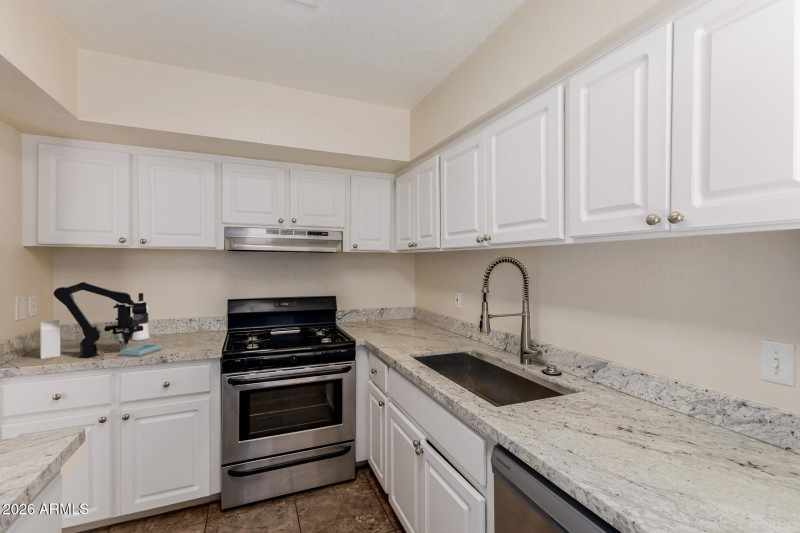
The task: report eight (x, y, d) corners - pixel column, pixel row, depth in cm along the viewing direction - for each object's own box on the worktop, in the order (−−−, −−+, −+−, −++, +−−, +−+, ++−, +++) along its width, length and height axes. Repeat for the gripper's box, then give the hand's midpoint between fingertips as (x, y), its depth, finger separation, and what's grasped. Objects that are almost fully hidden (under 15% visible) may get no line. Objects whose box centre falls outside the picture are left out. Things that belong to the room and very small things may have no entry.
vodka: (153, 338, 233) (153, 292, 233) (138, 341, 224) (139, 293, 224) (142, 337, 236) (142, 292, 235) (128, 340, 227) (128, 293, 227)
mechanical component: (134, 349, 202) (134, 331, 202) (118, 353, 192) (118, 335, 192) (129, 348, 202) (129, 331, 202) (113, 353, 192) (113, 334, 192)
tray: (120, 356, 189) (120, 350, 189) (143, 349, 204) (143, 344, 204) (139, 357, 188) (139, 351, 188) (161, 350, 203) (161, 344, 203)
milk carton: (60, 356, 188) (60, 320, 188) (41, 359, 182) (41, 322, 182) (58, 354, 193) (58, 319, 192) (40, 356, 187) (40, 320, 187)
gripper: (151, 314, 204) (151, 341, 204) (121, 313, 206) (121, 340, 206) (134, 316, 193) (134, 345, 193) (103, 316, 195) (103, 344, 195)
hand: (123, 343), depth 197 cm, fingers closed on mechanical component, 3 cm apart
